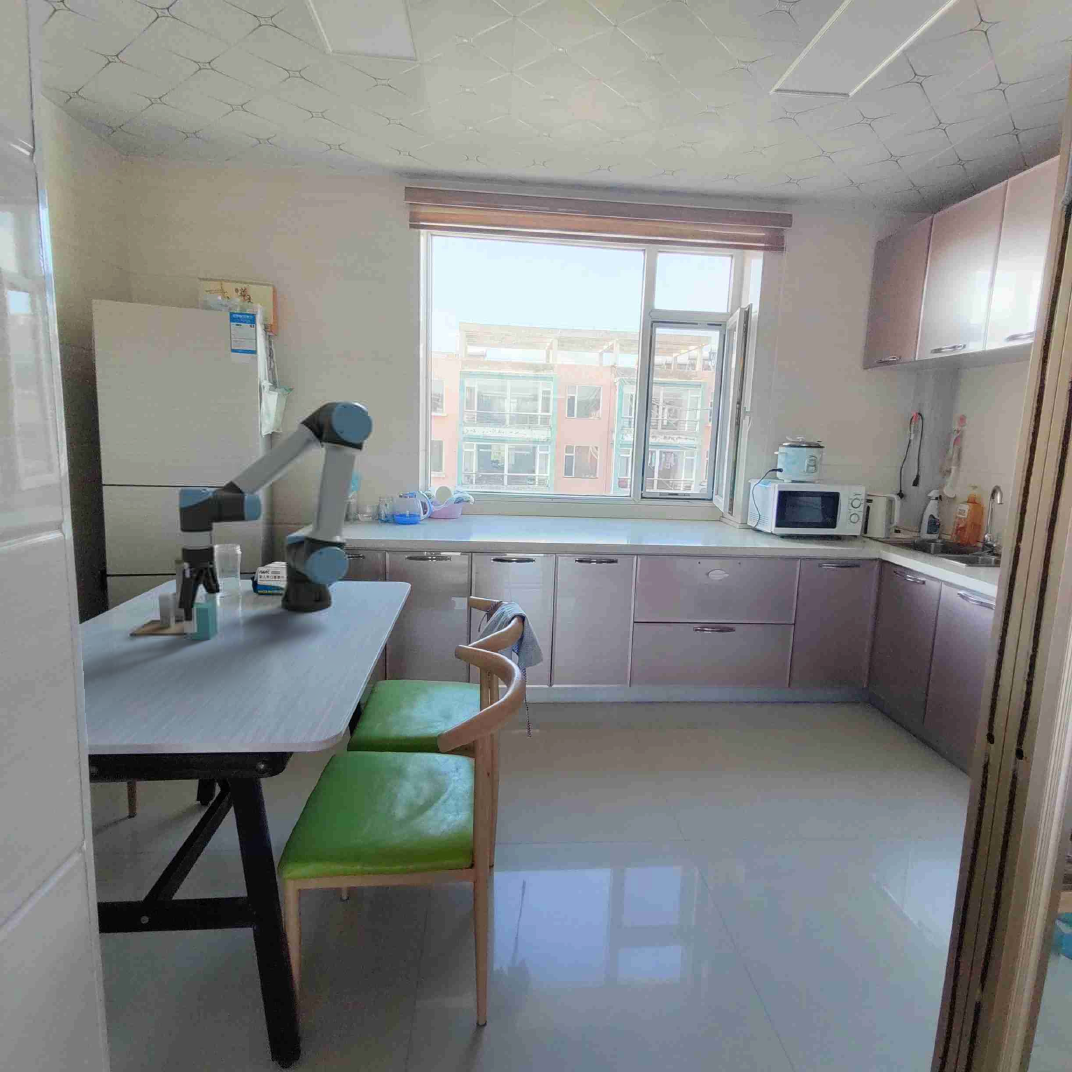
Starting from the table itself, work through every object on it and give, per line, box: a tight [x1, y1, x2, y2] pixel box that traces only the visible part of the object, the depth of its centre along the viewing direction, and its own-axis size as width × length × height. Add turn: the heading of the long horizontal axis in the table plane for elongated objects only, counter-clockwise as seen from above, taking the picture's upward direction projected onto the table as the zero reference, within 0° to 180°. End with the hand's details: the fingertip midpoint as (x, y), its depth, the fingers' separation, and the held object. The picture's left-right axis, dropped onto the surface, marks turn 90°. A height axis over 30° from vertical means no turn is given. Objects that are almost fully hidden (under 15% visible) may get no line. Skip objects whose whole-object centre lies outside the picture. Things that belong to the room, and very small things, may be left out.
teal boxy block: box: [188, 602, 218, 641], centre depth 164 cm, size 5×5×9 cm
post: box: [158, 593, 175, 628], centre depth 170 cm, size 3×3×9 cm
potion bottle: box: [171, 555, 198, 620], centre depth 178 cm, size 9×9×18 cm
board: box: [129, 619, 189, 637], centre depth 170 cm, size 14×12×1 cm
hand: (201, 624), depth 164 cm, fingers open, 13 cm apart
